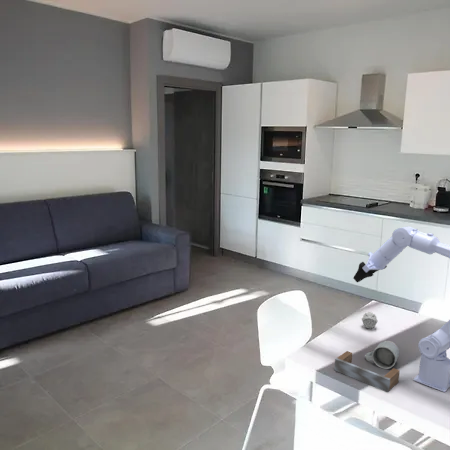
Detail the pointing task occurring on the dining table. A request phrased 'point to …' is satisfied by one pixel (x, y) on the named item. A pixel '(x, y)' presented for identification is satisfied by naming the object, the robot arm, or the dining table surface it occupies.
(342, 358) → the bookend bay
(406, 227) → the robot arm
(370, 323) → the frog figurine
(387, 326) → the dining table surface
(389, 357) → the ceramic mug
